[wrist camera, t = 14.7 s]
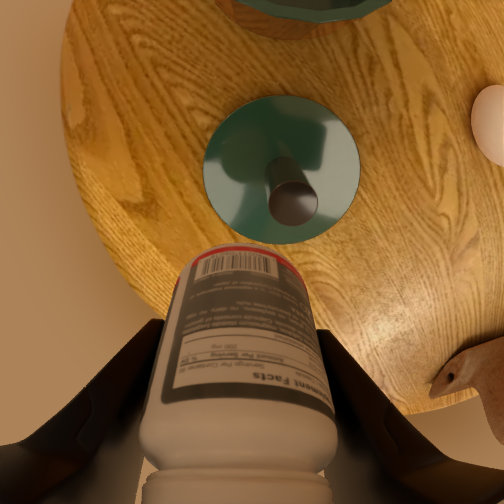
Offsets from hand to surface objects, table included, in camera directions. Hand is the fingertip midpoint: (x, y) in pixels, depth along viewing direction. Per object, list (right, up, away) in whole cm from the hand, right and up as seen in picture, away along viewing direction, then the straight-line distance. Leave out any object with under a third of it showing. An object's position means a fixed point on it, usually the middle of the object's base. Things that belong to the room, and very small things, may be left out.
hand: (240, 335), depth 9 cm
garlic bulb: (+19, +13, +7) cm, 24 cm away
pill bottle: (0, +1, +2) cm, 2 cm away
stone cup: (+32, -11, +22) cm, 40 cm away
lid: (+2, +8, +9) cm, 12 cm away
